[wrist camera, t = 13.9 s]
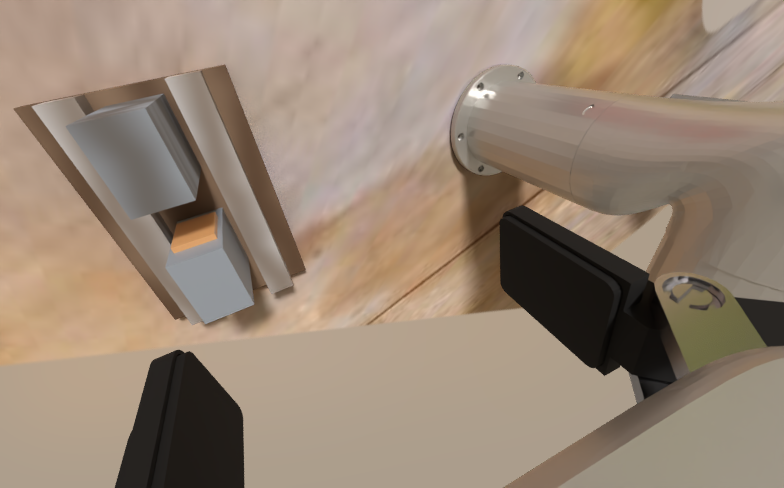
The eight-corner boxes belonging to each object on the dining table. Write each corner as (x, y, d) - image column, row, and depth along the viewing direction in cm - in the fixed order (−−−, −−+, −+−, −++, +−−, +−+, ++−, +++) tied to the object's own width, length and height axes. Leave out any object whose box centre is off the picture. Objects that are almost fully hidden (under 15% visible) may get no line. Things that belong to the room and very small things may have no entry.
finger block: (208, 272, 33) (205, 324, 27) (174, 217, 30) (161, 262, 23) (248, 257, 34) (254, 304, 28) (219, 202, 31) (219, 242, 24)
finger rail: (225, 64, 27) (226, 70, 20) (303, 264, 39) (322, 313, 32) (21, 106, 23) (-67, 132, 16) (176, 312, 35) (164, 380, 28)
